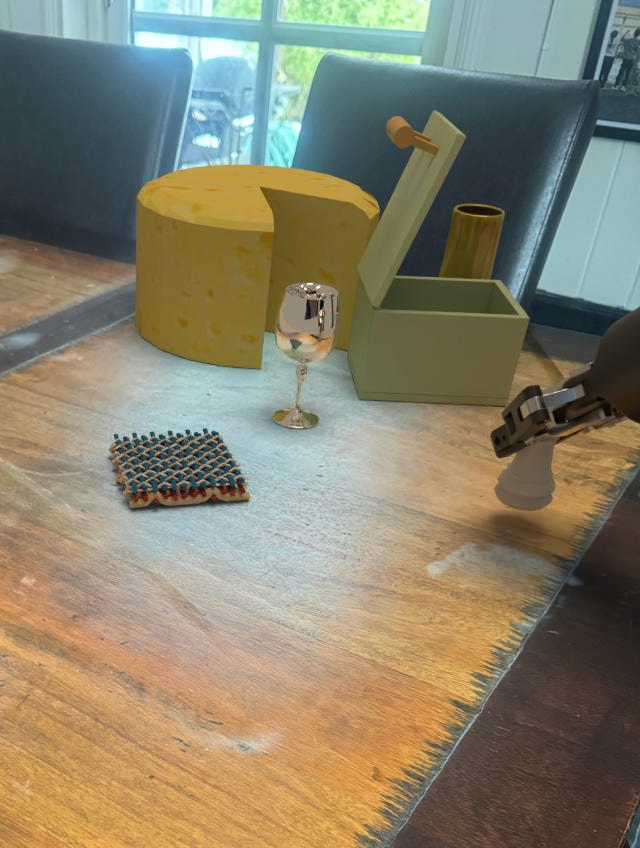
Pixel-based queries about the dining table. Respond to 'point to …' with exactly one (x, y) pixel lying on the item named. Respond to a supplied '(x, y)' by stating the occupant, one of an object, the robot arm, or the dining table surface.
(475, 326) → the chest
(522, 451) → the rook chess piece
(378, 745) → the dining table surface
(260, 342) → the cheese
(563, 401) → the robot arm
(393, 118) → the lid
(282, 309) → the wineglass
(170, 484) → the woven mat
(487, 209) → the vase
